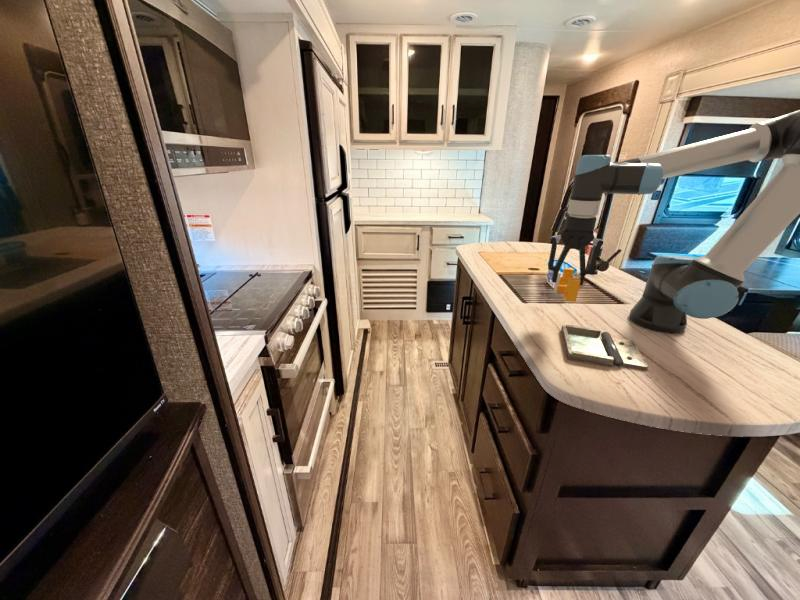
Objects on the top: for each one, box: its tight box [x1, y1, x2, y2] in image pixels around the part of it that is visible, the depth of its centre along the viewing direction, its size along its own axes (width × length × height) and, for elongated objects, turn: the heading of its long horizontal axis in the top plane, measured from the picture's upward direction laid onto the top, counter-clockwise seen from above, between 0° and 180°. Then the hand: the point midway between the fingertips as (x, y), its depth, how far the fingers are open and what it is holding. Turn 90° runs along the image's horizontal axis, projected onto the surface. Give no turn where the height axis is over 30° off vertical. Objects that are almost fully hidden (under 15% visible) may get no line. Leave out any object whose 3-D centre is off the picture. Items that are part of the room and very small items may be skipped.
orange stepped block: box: [553, 267, 581, 303], centre depth 97 cm, size 12×4×6 cm, turn 163°
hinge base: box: [560, 324, 649, 371], centre depth 92 cm, size 19×17×2 cm
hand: (564, 293), depth 99 cm, fingers closed on orange stepped block, 5 cm apart
